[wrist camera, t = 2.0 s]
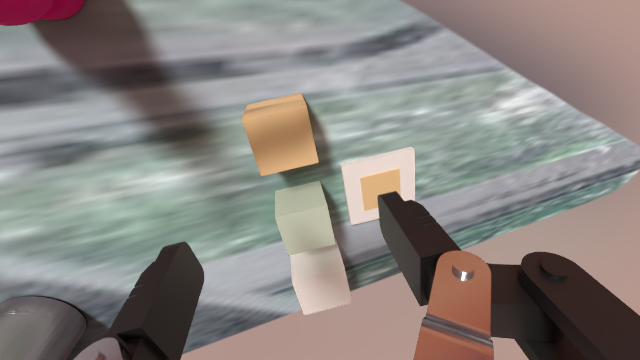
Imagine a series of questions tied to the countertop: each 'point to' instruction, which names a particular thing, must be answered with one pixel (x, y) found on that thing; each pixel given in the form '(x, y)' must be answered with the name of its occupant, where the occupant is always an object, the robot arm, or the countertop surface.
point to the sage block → (303, 218)
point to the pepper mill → (36, 10)
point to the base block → (320, 279)
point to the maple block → (280, 134)
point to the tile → (377, 182)
